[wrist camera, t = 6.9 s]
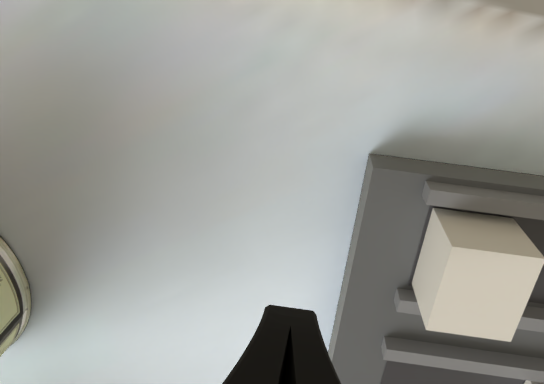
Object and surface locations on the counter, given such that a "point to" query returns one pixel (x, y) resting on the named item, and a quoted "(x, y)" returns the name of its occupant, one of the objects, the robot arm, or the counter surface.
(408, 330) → the switch panel
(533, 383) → the tab middle
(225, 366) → the counter surface
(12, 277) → the coffee can
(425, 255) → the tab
